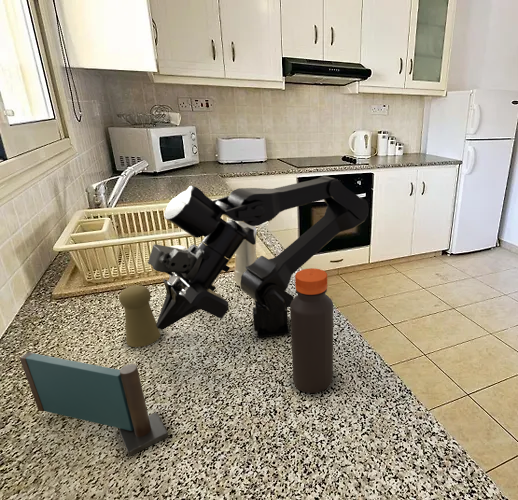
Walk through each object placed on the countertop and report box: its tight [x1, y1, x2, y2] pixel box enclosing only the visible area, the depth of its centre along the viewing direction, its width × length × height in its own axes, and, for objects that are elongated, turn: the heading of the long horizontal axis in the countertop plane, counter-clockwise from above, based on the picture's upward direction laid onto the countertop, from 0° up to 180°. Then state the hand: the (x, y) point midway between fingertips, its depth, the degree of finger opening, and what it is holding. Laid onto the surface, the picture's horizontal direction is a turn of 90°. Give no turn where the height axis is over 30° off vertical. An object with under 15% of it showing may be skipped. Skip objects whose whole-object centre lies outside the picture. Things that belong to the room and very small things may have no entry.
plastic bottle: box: [233, 221, 258, 288], centre depth 93 cm, size 6×7×20 cm
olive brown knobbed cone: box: [118, 284, 161, 348], centre depth 72 cm, size 6×6×11 cm
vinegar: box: [289, 267, 334, 394], centre depth 60 cm, size 7×7×20 cm
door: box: [19, 351, 134, 431], centre depth 52 cm, size 1×16×10 cm, turn 78°
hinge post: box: [118, 363, 169, 457], centre depth 51 cm, size 5×5×12 cm
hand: (158, 328), depth 62 cm, fingers closed
